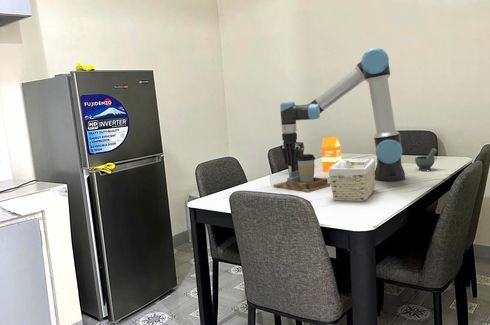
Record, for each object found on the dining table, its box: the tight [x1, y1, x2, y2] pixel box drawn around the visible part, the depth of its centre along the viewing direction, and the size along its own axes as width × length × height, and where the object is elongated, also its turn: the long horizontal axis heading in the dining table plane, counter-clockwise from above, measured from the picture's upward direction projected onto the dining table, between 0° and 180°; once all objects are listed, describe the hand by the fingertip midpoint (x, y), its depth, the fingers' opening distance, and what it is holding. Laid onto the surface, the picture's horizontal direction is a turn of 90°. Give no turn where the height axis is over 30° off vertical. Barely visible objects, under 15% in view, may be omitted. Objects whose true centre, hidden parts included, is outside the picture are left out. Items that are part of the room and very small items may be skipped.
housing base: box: [273, 176, 331, 193], centre depth 216 cm, size 24×16×4 cm, turn 40°
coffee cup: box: [296, 153, 316, 184], centre depth 212 cm, size 9×9×15 cm
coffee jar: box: [295, 141, 305, 171], centre depth 253 cm, size 10×8×19 cm
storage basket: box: [328, 158, 376, 202], centre depth 189 cm, size 24×16×15 cm
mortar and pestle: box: [414, 147, 438, 172], centre depth 231 cm, size 11×9×12 cm
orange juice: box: [321, 136, 342, 173], centre depth 252 cm, size 8×9×20 cm
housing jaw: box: [286, 170, 301, 183], centre depth 218 cm, size 3×11×6 cm, turn 130°
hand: (292, 177), depth 220 cm, fingers closed
